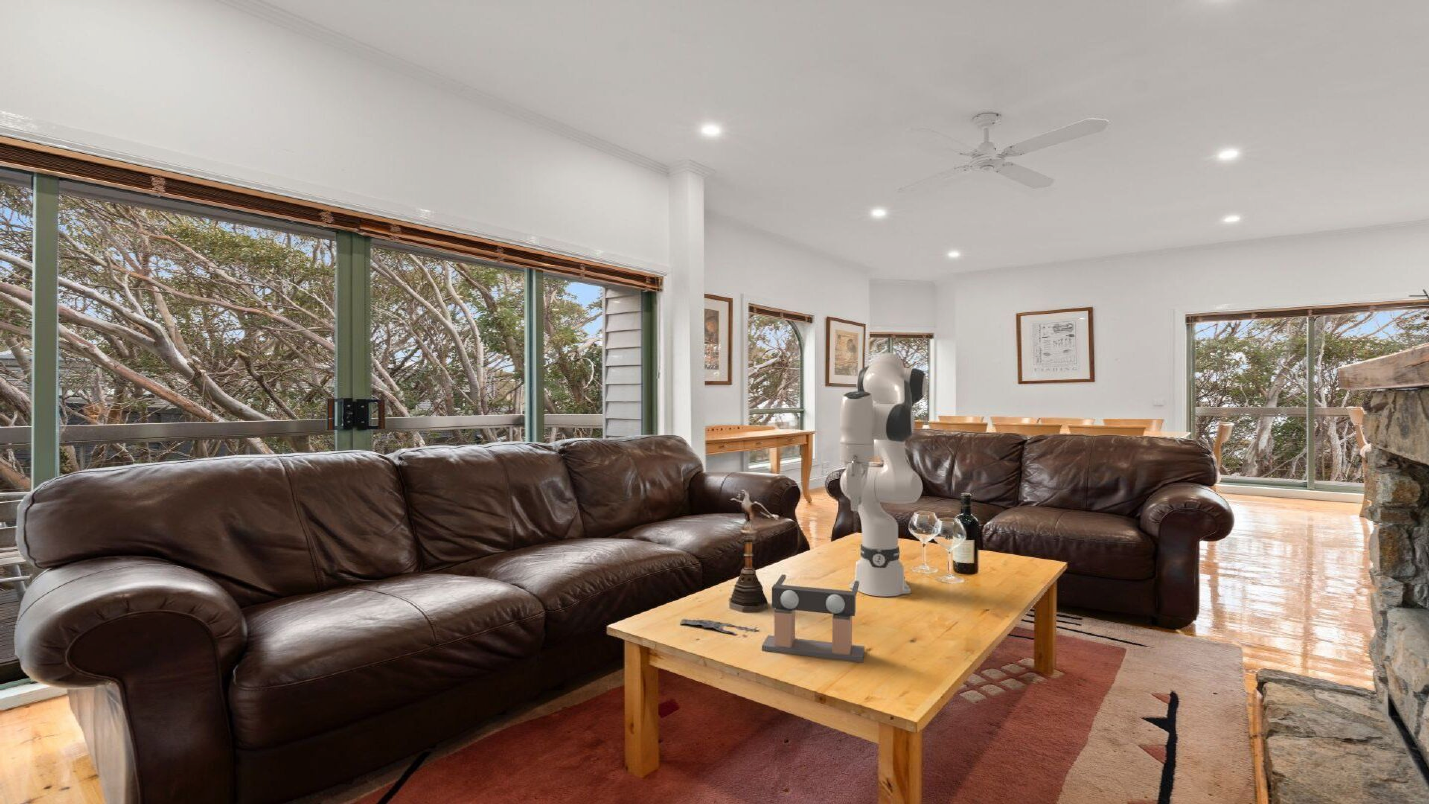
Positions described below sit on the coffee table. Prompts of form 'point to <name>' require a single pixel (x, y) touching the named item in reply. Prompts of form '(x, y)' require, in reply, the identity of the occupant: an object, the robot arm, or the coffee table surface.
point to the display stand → (832, 650)
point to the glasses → (814, 599)
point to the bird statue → (749, 560)
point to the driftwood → (715, 625)
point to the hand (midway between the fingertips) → (856, 507)
